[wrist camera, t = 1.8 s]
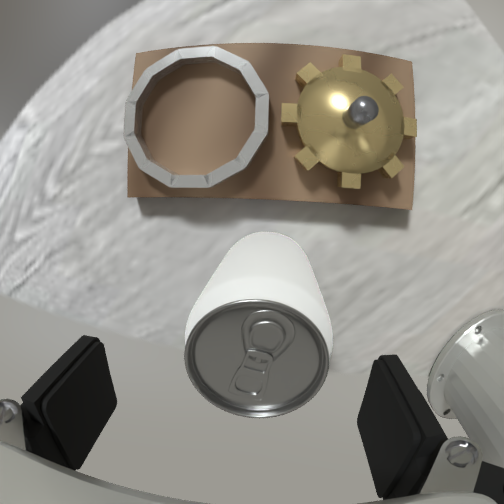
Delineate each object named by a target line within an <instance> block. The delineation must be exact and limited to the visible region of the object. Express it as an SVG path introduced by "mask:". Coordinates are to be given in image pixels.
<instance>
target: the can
mask: <svg viewBox="0 0 504 504" xmlns="http://www.w3.org/2000/svg"><path fill="white" fill-rule="evenodd" d="M332 349H333V331H332V326H331V322H330V318H329V315H328V312H327V309H326V306H325V303H324V300H323V297H322V294H321V292H320V289H319V286H318V283H317V281H316V278H315V275H314V273H313V270H312V267H311V265H310V262H309V260H308V258H307V256H306V254H305V252H304V251H303V249H302V248H301V247H300V246H299V245H298V244H297V243H296V242H295V241H294V240H293V239H291V238H290V237H288V236H285V235H283V234H279V233H275V232H257V233H253V234H250V235H247V236H245V237H243V238H242V239H240V240H239V241H238V242H236V243H235V244H234V245H233V246H232V247H231V249H230V250H229V251H228V253H227V254H226V256H225V257H224V259H223V260H222V262H221V263H220V265H219V266H218V268H217V269H216V271H215V272H214V274H213V275H212V277H211V279H210V280H209V282H208V283H207V285H206V287H205V288H204V290H203V291H202V293H201V295H200V296H199V298H198V300H197V301H196V303H195V305H194V307H193V309H192V310H191V313H190V315H189V318H188V321H187V324H186V330H185V353H184V359H185V366H186V370H187V373H188V376H189V378H190V380H191V382H192V383H193V385H194V387H195V388H196V389H197V391H198V392H199V393H200V394H201V395H202V396H203V397H204V398H205V399H207V400H208V401H209V402H210V403H212V404H213V405H215V406H216V407H218V408H220V409H222V410H224V411H227V412H229V413H232V414H235V415H238V416H243V417H249V418H268V417H276V416H280V415H284V414H287V413H289V412H292V411H294V410H296V409H298V408H300V407H301V406H303V405H304V404H306V403H307V402H309V401H310V400H311V399H312V398H313V397H314V396H315V395H316V394H317V392H318V391H319V390H320V388H321V387H322V385H323V383H324V381H325V379H326V377H327V373H328V369H329V360H330V357H331V354H332Z"/></svg>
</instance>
